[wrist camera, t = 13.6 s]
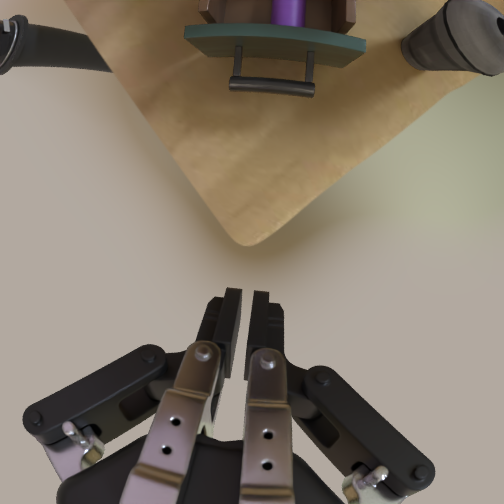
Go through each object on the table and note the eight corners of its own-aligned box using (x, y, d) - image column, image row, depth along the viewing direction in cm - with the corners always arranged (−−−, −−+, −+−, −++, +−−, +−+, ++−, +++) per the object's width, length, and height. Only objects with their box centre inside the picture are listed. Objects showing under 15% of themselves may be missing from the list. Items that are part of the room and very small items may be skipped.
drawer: (339, 106, 24) (362, 103, 17) (205, 94, 24) (179, 88, 17) (344, -34, 15) (360, -67, 8) (220, -44, 15) (204, -78, 8)
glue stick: (300, 46, 20) (307, 39, 17) (267, 43, 20) (270, 34, 17) (303, -11, 17) (309, -23, 14) (272, -15, 16) (275, -28, 14)
